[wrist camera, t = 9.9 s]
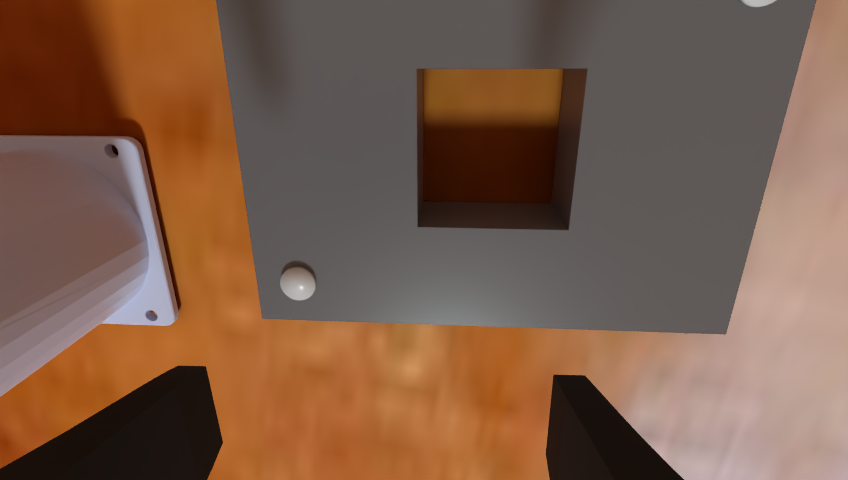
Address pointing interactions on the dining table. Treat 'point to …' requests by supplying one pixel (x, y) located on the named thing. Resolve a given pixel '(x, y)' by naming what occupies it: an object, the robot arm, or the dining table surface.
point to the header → (495, 221)
